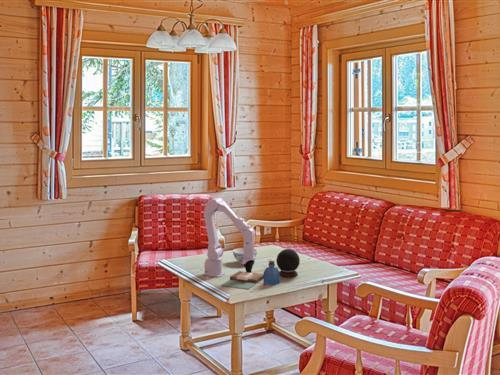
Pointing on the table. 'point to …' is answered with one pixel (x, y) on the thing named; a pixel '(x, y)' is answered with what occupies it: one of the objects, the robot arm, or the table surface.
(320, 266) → the table surface
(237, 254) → the chinaware
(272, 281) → the perfume bottle
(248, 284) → the mat
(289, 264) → the black ball on stand
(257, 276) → the deck
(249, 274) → the tile
